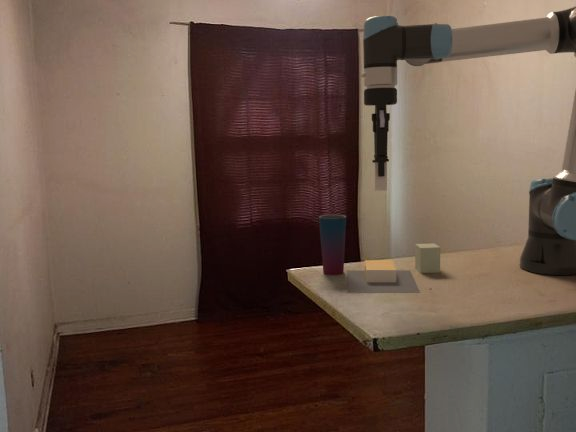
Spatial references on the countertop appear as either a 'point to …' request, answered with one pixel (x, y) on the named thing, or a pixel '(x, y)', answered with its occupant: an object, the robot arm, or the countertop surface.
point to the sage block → (427, 258)
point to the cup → (333, 243)
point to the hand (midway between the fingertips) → (380, 190)
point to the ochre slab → (380, 271)
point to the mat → (381, 283)
